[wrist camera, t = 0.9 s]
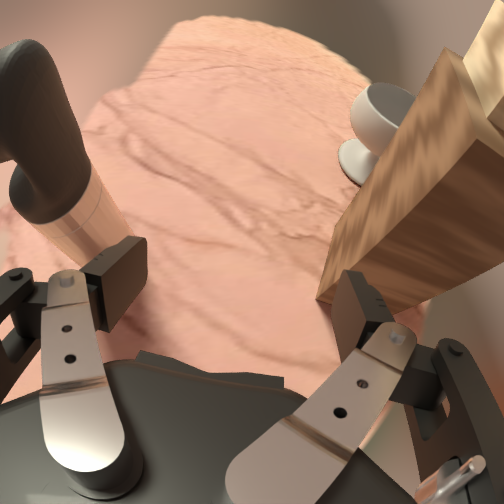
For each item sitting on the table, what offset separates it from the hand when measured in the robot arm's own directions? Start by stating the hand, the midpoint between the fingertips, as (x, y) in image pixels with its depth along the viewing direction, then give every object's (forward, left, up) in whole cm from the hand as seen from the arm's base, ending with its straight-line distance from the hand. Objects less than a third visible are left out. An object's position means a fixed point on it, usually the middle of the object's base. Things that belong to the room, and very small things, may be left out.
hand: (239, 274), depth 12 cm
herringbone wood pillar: (-1, +20, -28) cm, 34 cm away
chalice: (-17, +34, -28) cm, 47 cm away
